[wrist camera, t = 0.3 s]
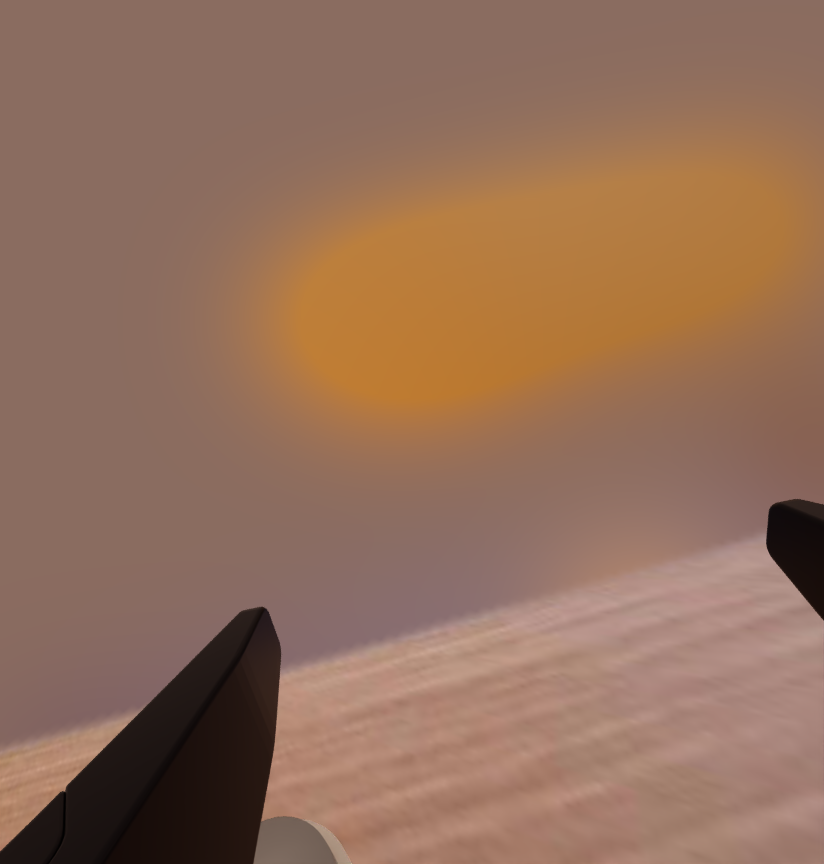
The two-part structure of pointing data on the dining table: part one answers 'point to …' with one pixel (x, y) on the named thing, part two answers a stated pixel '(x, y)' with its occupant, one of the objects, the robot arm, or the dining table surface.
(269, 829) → the shaker
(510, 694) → the dining table surface
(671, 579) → the dining table surface
